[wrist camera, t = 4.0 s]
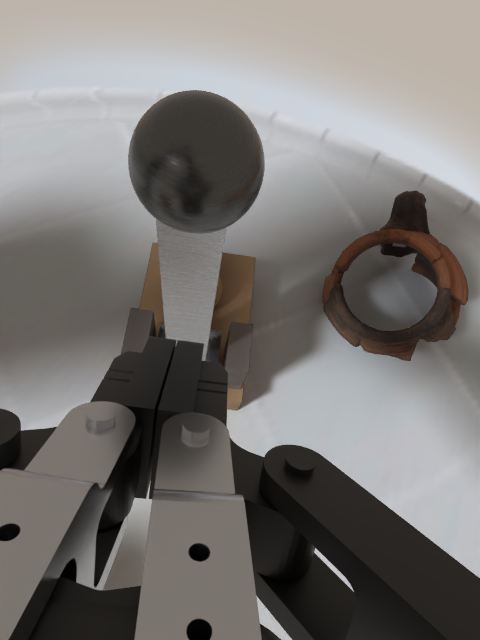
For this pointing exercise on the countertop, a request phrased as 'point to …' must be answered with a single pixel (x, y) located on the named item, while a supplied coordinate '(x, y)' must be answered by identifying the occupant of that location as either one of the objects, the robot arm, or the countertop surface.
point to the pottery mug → (431, 261)
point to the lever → (194, 200)
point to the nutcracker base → (226, 317)
